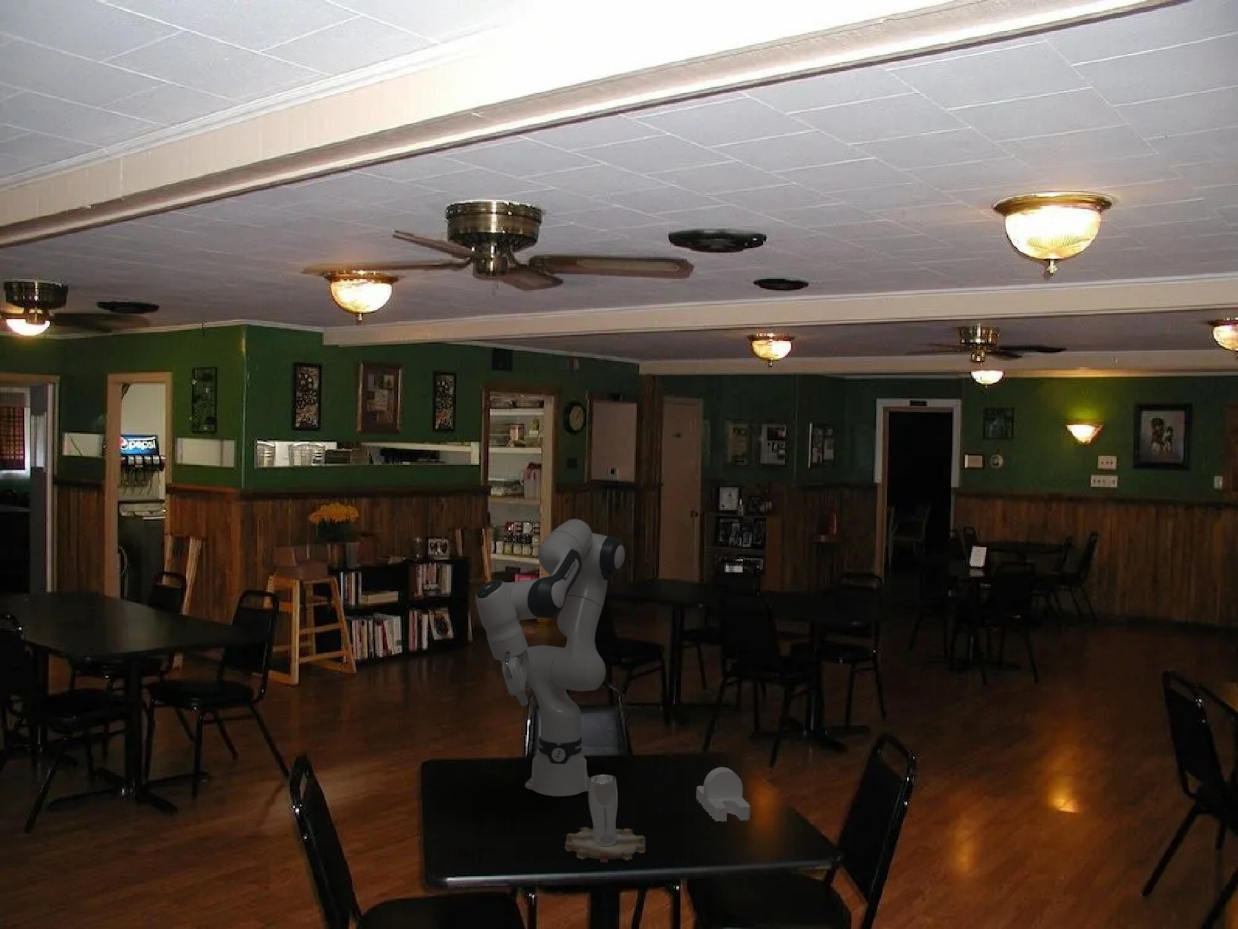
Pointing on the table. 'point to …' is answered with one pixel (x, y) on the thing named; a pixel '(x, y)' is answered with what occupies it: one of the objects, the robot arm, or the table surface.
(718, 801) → the tape dispenser
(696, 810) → the table surface
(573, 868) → the table surface
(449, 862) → the table surface
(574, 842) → the sprocket plate
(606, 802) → the beer glass
